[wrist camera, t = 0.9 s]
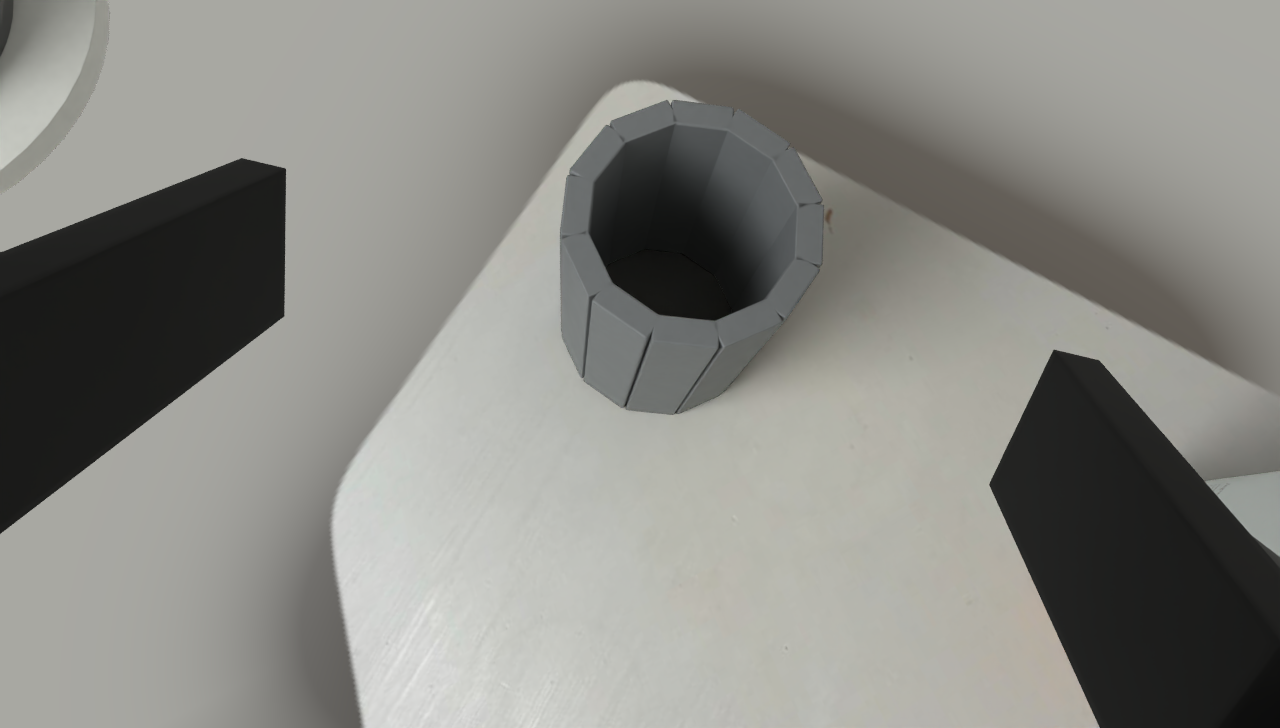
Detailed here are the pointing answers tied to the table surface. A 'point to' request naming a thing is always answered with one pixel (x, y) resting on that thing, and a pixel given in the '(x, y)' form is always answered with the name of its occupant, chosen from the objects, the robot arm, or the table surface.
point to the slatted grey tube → (683, 249)
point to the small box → (1253, 504)
